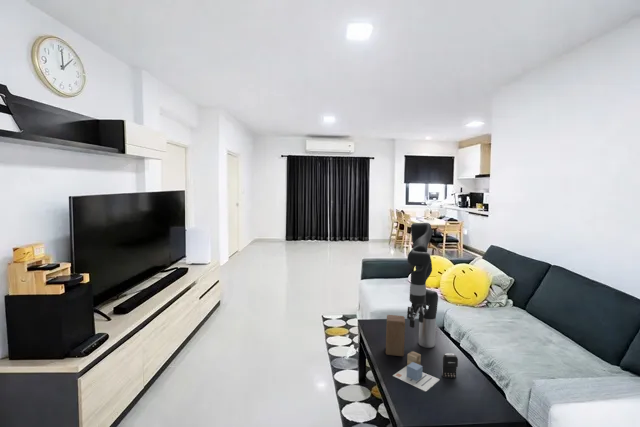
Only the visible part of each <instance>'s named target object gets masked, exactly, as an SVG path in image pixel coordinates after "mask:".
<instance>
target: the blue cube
mask: <svg viewBox="0 0 640 427" xmlns="http://www.w3.org/2000/svg"><path fill="white" fill-rule="evenodd" d="M406 366H407V377H409V378H411V379H413V380H415V381H417V380H419V379H420V378H421V377H422V372H423V369H424V368H423V367H424V366H423V365H421V364H420V365H419V364H417V363H414V362H412V363H410V364H409V365H407V364H406Z"/></svg>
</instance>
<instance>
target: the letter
mask: <svg viewBox="0 0 640 427" xmlns="http://www.w3.org/2000/svg"><path fill="white" fill-rule="evenodd" d="M392 377H393V378H396V379H398V380H401V381H402V382H404V383H407V384H409V385H411V386H413V387H415V388H417V389H419V390H421V391H422V392H428V391H429V390H430V389H431V388H432V387H433V386H435V385H436V384H437V383H438V382H439V381H440V378H438V377H435V376H432V375H430V374H429V373H428V374H427V373H425V372H423V371H422V377H421V378H420V379H419V380H417V381H415V380H413V379H411V378H409V377H407V365H405V366H404V367H403V368H401V369H400V370H399V371H397V372H396V373H394V374H393V375H392Z"/></svg>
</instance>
